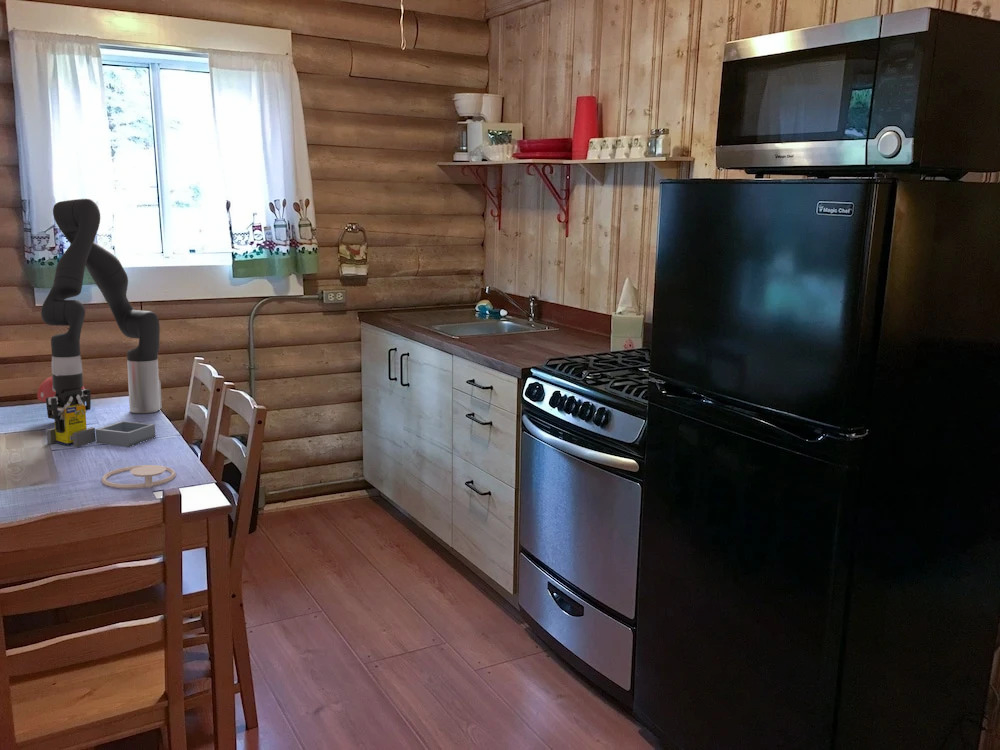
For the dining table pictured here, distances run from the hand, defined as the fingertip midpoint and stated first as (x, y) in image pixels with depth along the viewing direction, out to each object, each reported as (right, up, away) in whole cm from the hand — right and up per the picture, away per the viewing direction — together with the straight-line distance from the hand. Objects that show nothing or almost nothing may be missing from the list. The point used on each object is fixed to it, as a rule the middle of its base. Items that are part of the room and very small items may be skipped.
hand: (70, 429), depth 232 cm
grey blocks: (0, -4, +1) cm, 4 cm away
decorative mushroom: (-14, +1, +23) cm, 27 cm away
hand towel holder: (+33, -11, -29) cm, 45 cm away
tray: (+13, -4, +5) cm, 15 cm away
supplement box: (0, -4, +1) cm, 4 cm away
